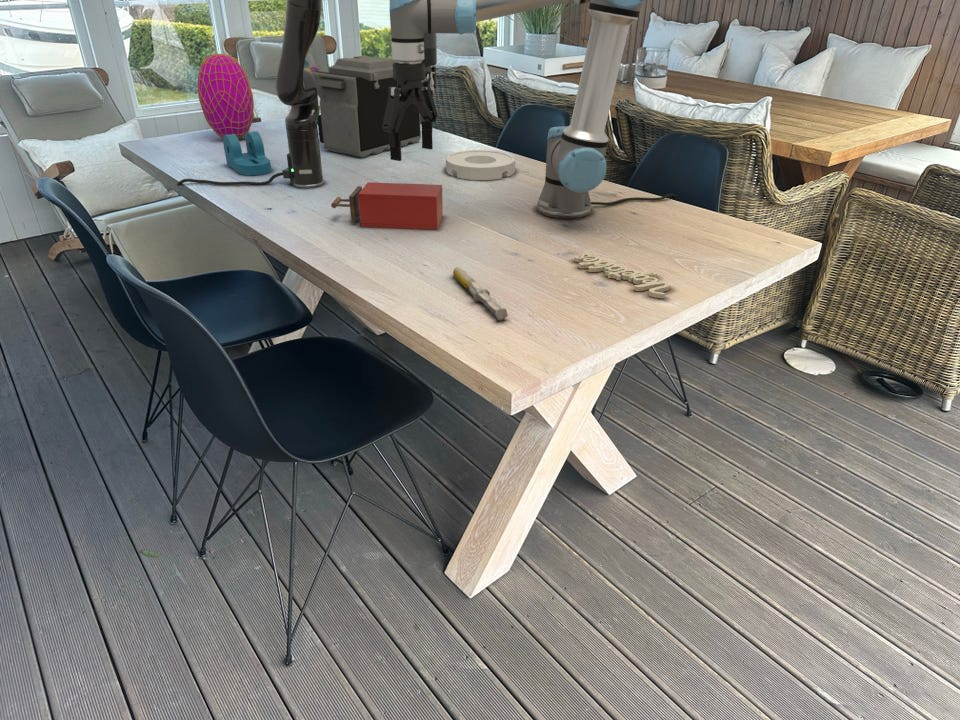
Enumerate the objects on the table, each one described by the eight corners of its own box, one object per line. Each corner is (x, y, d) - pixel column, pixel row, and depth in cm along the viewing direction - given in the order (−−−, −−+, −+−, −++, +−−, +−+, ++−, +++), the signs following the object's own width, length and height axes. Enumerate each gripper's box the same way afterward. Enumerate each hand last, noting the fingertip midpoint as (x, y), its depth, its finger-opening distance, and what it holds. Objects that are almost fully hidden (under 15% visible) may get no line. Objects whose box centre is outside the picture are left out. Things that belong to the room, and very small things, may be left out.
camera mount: (227, 164, 233) (221, 132, 227) (257, 160, 238) (252, 129, 233) (244, 176, 220) (239, 143, 215) (276, 172, 225) (271, 139, 220)
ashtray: (448, 160, 240) (448, 149, 238) (514, 162, 240) (514, 150, 238) (443, 179, 220) (443, 166, 218) (515, 180, 220) (515, 168, 218)
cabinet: (361, 226, 182) (358, 193, 177) (369, 213, 191) (367, 182, 186) (437, 229, 180) (436, 196, 176) (442, 216, 189) (442, 184, 185)
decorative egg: (223, 147, 254) (207, 59, 238) (197, 138, 265) (180, 54, 250) (268, 138, 266) (256, 54, 251) (241, 130, 277) (228, 49, 262)
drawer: (330, 221, 182) (327, 195, 179) (339, 210, 190) (337, 185, 187) (422, 224, 181) (421, 199, 177) (428, 213, 189) (427, 188, 185)
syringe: (449, 274, 155) (449, 263, 153) (465, 272, 156) (464, 260, 154) (490, 323, 135) (491, 310, 133) (508, 319, 136) (508, 307, 134)
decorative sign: (686, 282, 150) (660, 295, 144) (686, 286, 150) (659, 300, 144) (592, 249, 166) (565, 259, 160) (592, 253, 167) (565, 263, 161)
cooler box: (383, 133, 276) (378, 52, 261) (425, 141, 265) (422, 56, 250) (314, 150, 251) (304, 61, 235) (358, 160, 240) (350, 67, 224)
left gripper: (418, 42, 187) (420, 104, 196) (398, 47, 176) (401, 113, 184) (444, 43, 186) (445, 106, 194) (425, 49, 174) (427, 115, 182)
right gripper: (389, 69, 149) (394, 167, 159) (450, 57, 167) (451, 145, 178) (362, 66, 152) (369, 163, 162) (424, 54, 170) (427, 142, 181)
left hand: (423, 109), depth 189 cm, fingers open, 8 cm apart
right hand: (412, 154), depth 170 cm, fingers open, 13 cm apart
